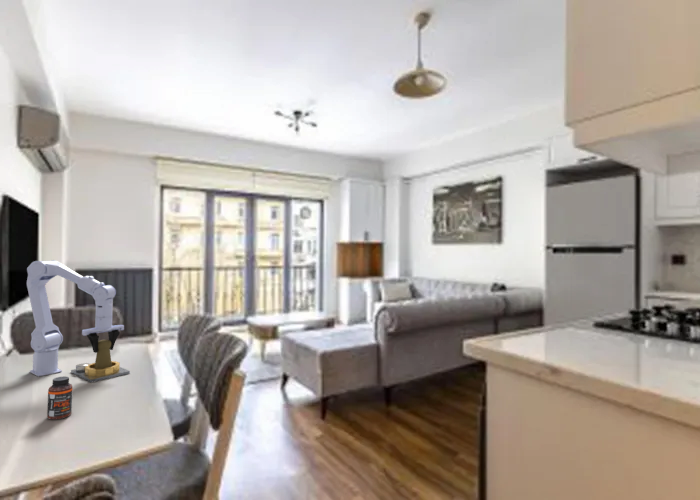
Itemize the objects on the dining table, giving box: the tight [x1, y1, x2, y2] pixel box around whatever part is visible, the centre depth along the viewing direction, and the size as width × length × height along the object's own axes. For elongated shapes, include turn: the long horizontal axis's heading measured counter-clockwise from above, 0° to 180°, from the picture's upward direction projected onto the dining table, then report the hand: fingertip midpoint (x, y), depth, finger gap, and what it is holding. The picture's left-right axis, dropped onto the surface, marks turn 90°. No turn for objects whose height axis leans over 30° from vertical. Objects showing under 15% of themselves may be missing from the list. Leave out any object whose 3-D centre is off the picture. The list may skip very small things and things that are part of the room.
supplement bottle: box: [46, 375, 73, 420], centre depth 120 cm, size 6×6×11 cm
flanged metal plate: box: [70, 360, 131, 383], centre depth 160 cm, size 18×14×4 cm
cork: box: [94, 339, 112, 369], centre depth 159 cm, size 6×6×11 cm
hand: (103, 350), depth 159 cm, fingers closed on cork, 5 cm apart
